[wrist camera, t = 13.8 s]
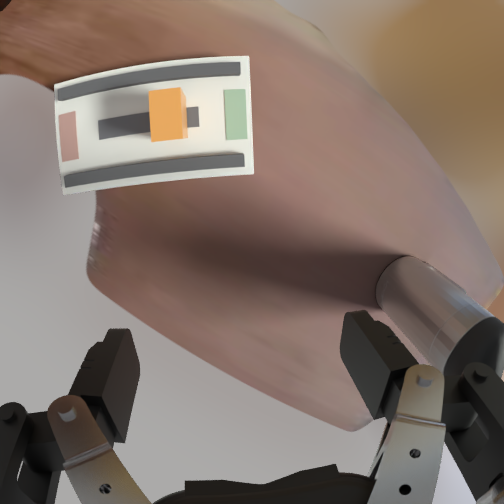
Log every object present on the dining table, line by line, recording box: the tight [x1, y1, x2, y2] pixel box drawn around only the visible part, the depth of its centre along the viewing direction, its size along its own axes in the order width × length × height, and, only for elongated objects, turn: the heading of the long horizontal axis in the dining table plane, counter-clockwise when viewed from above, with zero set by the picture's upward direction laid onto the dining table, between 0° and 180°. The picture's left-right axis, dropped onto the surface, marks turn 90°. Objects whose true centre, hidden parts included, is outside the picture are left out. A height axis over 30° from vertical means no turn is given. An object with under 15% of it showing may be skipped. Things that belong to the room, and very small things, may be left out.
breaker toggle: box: [149, 87, 188, 142], centre depth 24 cm, size 2×4×6 cm, turn 2°
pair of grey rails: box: [58, 62, 245, 188], centre depth 26 cm, size 18×10×1 cm, turn 92°
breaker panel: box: [54, 56, 254, 195], centre depth 29 cm, size 20×12×4 cm, turn 92°
